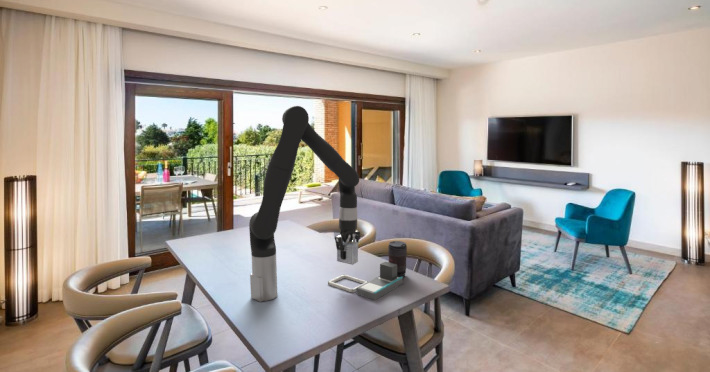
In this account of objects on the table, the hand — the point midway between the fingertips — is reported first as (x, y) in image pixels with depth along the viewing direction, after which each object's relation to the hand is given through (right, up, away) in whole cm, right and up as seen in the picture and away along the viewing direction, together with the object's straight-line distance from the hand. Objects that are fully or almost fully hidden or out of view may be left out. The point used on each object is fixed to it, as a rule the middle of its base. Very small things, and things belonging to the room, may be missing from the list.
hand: (347, 257), depth 152 cm
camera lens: (+22, -11, +11) cm, 27 cm away
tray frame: (0, -12, +2) cm, 12 cm away
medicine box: (0, -2, 0) cm, 2 cm away
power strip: (+14, -12, -2) cm, 18 cm away
